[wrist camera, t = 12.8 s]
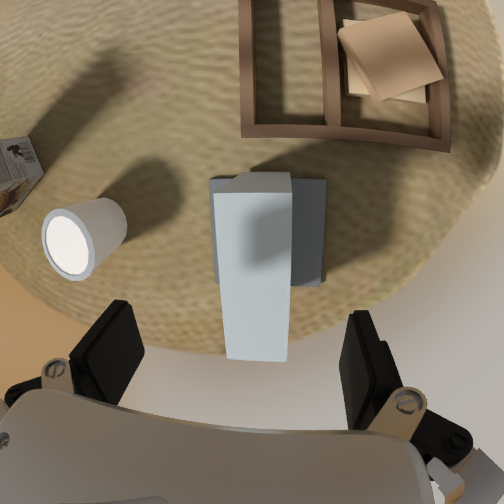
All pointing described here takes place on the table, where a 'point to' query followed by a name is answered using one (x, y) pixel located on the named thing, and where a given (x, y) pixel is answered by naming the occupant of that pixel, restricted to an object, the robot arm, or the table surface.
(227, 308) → the large gray cuboid
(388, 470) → the robot arm
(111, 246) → the white cup
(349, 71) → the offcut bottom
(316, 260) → the mat
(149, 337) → the table surface
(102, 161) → the table surface
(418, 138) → the tray
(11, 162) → the coffee box
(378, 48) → the offcut top
